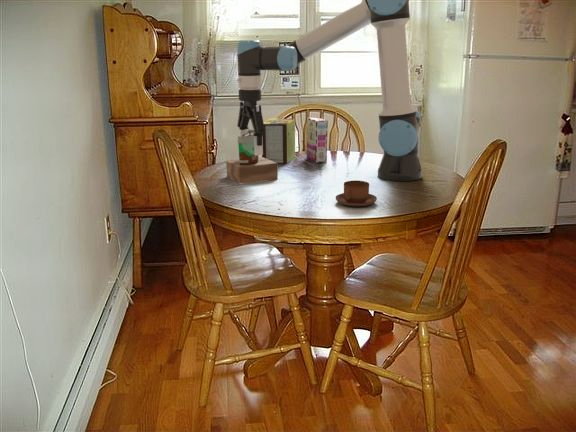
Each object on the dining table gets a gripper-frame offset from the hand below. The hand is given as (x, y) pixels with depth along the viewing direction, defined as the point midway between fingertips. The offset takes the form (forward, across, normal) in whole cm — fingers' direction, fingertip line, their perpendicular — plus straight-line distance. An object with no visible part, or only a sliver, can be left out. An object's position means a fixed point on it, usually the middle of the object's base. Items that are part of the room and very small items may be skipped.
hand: (251, 151), depth 197 cm
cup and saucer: (+10, +44, +16) cm, 47 cm away
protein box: (+10, -25, +21) cm, 34 cm away
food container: (+4, +1, 0) cm, 4 cm away
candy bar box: (+9, -17, +34) cm, 39 cm away
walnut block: (+10, 0, 0) cm, 10 cm away
